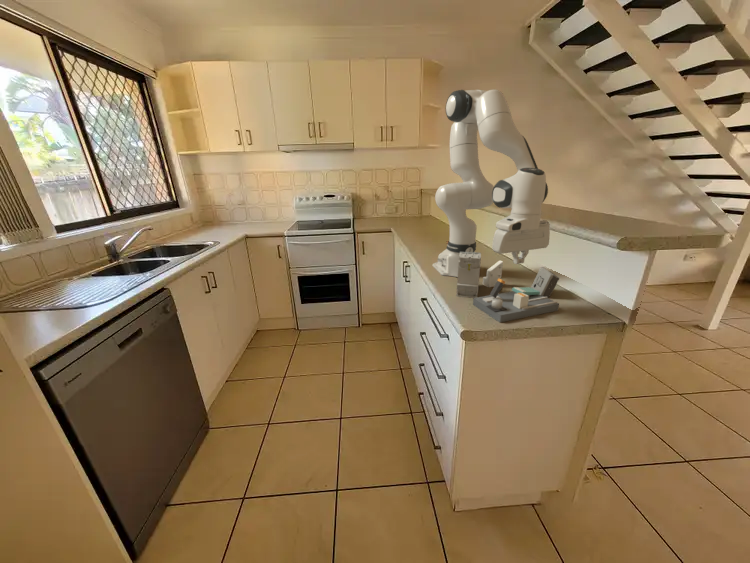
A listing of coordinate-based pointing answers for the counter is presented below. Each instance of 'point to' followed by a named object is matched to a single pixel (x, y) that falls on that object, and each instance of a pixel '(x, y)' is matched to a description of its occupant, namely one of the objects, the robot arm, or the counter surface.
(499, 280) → the toggle lever
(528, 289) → the teal tile cream strip
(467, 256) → the circuit breaker
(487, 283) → the white angled block
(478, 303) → the panel
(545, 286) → the electrical switch
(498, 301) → the button
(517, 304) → the cream cube orange stripe
